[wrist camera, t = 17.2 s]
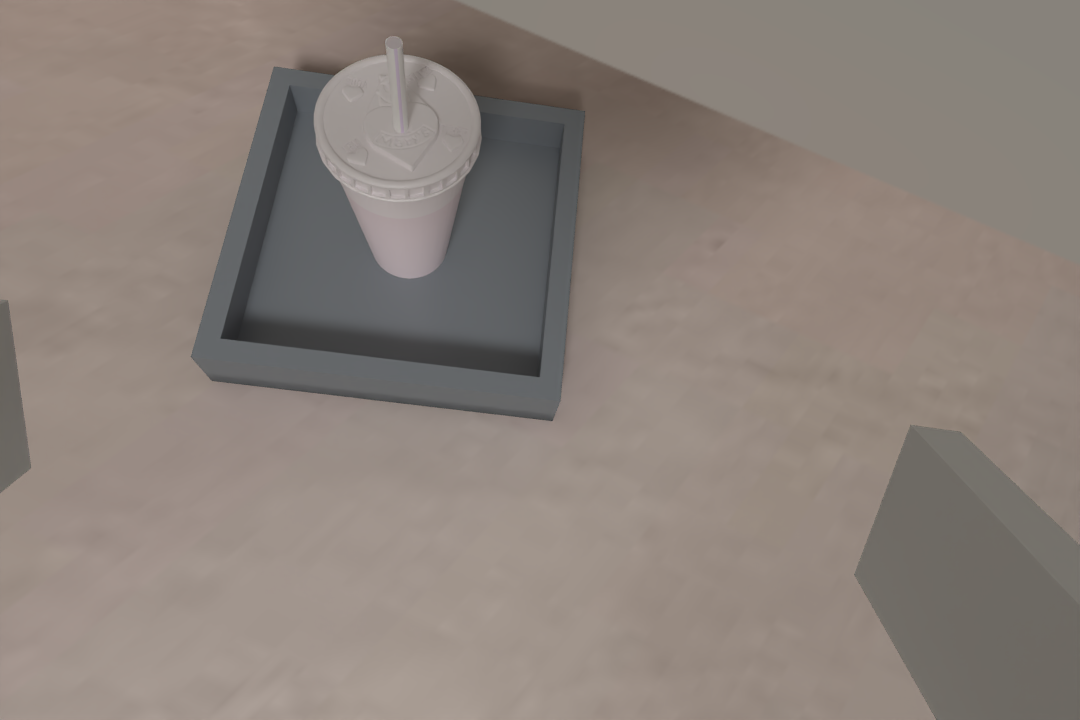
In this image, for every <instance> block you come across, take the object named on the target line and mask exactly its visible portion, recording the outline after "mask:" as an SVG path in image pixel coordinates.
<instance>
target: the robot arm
mask: <svg viewBox="0 0 1080 720" xmlns="http://www.w3.org/2000/svg"><path fill="white" fill-rule="evenodd" d="M30 468H31V463H30V456H29V448H28V441H27V434H26V427H25V419H24V412H23V405H22V398H21V390H20V383H19V376H18V369H17V361H16V354H15V347H14V340H13V332H12V325H11V318H10V311H9V303H8V300H0V493H1V492H2V491H3V490H5V489H6V488H7V487H8V486H10V485H11V484H12V483H13V482H14V481H16V480H17V479H18V478H19V477H21V476H22V475H23V474H24V473H26V472H27V471H28V470H29V469H30ZM854 575H855V577H856V578H857V580H858V582H859V584H860V586H861V587H862V589H863V591H864V593H865V594H866V596H867V598H868V600H869V601H870V603H871V605H872V607H873V609H874V610H875V612H876V614H877V616H878V617H879V619H880V621H881V623H882V624H883V626H884V628H885V630H886V632H887V633H888V635H889V637H890V639H891V640H892V642H893V644H894V646H895V647H896V649H897V651H898V653H899V654H900V656H901V658H902V660H903V662H904V663H905V665H906V667H907V669H908V670H909V672H910V674H911V676H912V677H913V679H914V681H915V683H916V685H917V686H918V688H919V690H920V692H921V693H922V695H923V697H924V699H925V700H926V702H927V704H928V706H929V708H930V709H931V711H932V713H933V715H934V716H935V718H936V720H1080V545H1079V544H1078V543H1077V542H1076V541H1075V540H1074V539H1072V538H1071V537H1070V536H1069V535H1068V534H1067V533H1066V532H1065V531H1064V530H1063V529H1062V528H1061V527H1060V526H1059V525H1058V524H1057V523H1056V522H1055V521H1054V520H1053V519H1051V518H1050V517H1049V516H1048V515H1047V514H1046V513H1045V512H1044V511H1043V510H1042V509H1041V508H1040V507H1039V506H1038V505H1037V504H1036V503H1035V502H1034V501H1033V500H1032V499H1031V498H1029V497H1028V496H1027V495H1026V494H1025V493H1024V492H1023V491H1022V490H1021V489H1020V488H1019V487H1018V486H1017V485H1016V484H1015V483H1014V482H1013V481H1012V480H1011V479H1010V478H1008V477H1007V476H1006V475H1005V474H1004V473H1003V472H1002V471H1001V470H1000V469H999V468H998V467H997V466H996V465H995V464H994V463H993V462H992V461H991V460H990V459H989V458H988V457H986V456H985V455H984V454H983V453H982V452H981V451H980V450H979V449H978V448H977V447H976V446H975V445H974V444H973V443H972V442H971V441H970V440H969V439H968V438H967V437H965V436H964V435H963V434H962V433H961V432H958V431H950V430H943V429H936V428H929V427H921V426H914V425H910V428H909V431H908V433H907V436H906V438H905V441H904V444H903V446H902V449H901V452H900V454H899V457H898V460H897V462H896V465H895V468H894V470H893V473H892V476H891V478H890V481H889V484H888V486H887V489H886V492H885V494H884V497H883V500H882V502H881V505H880V508H879V510H878V513H877V516H876V518H875V521H874V524H873V526H872V529H871V531H870V534H869V537H868V539H867V542H866V545H865V547H864V550H863V553H862V555H861V558H860V561H859V563H858V566H857V569H856V571H855V574H854Z"/></svg>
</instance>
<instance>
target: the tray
mask: <svg viewBox="0 0 1080 720" xmlns="http://www.w3.org/2000/svg"><path fill="white" fill-rule="evenodd" d="M334 76H335V75H329V74H322V73H315V72H308V71H301V70H295V69H288V68H281V67H274V68H273V72H272V75H271V79H270V82H269V86H268V89H267V93H266V96H265V100H264V103H263V107H262V110H261V114H260V117H259V121H258V124H257V128H256V131H255V135H254V138H253V142H252V145H251V149H250V152H249V156H248V159H247V163H246V166H245V170H244V173H243V177H242V180H241V184H240V187H239V191H238V194H237V198H236V201H235V205H234V208H233V212H232V215H231V218H230V222H229V225H228V229H227V232H226V236H225V239H224V243H223V246H222V250H221V253H220V257H219V260H218V264H217V267H216V271H215V274H214V278H213V281H212V285H211V288H210V292H209V295H208V299H207V302H206V306H205V309H204V313H203V316H202V320H201V323H200V327H199V330H198V334H197V337H196V341H195V344H194V348H193V351H192V355H191V358H192V359H193V360H194V361H195V362H196V363H197V364H198V366H199V367H200V368H201V369H202V370H203V371H204V372H205V373H206V375H207V376H208V377H209V378H210V379H211V380H212V381H218V382H227V383H235V384H244V385H252V386H261V387H269V388H278V389H286V390H295V391H303V392H312V393H320V394H329V395H337V396H345V397H354V398H362V399H371V400H379V401H388V402H396V403H405V404H413V405H422V406H430V407H439V408H447V409H455V410H464V411H472V412H481V413H489V414H498V415H506V416H515V417H523V418H532V419H540V420H549V421H553V418H554V416H555V413H556V411H557V408H558V406H559V403H560V399H561V387H562V376H563V364H564V352H565V341H566V329H567V317H568V305H569V294H570V282H571V270H572V258H573V247H574V235H575V223H576V212H577V200H578V188H579V176H580V165H581V153H582V141H583V129H584V118H585V111H580V110H573V109H566V108H559V107H552V106H545V105H538V104H531V103H524V102H517V101H510V100H503V99H496V98H489V97H482V96H475V95H474V97H475V99H476V102H477V104H478V107H479V111H480V117H481V135H482V140H481V145H480V151H479V156H478V157H477V159H476V161H475V163H474V165H473V167H472V168H471V170H470V172H469V173H468V174H467V175H466V177H465V181H464V184H463V188H462V192H461V196H460V200H459V204H458V208H457V212H456V216H455V220H454V224H453V228H452V232H451V236H450V240H449V244H448V248H447V252H446V255H445V258H444V260H443V262H442V263H441V264H440V266H439V267H438V268H437V269H436V270H434V271H433V272H431V273H430V274H428V275H425V276H423V277H419V278H411V279H408V278H400V277H397V276H394V275H392V274H390V273H388V272H386V271H385V270H384V269H383V268H381V267H380V265H379V264H378V263H377V261H376V260H375V258H374V255H373V253H372V251H371V249H370V246H369V244H368V242H367V240H366V238H365V235H364V233H363V231H362V229H361V227H360V224H359V222H358V220H357V218H356V215H355V213H354V211H353V209H352V207H351V204H350V202H349V200H348V198H347V195H346V193H345V191H344V189H343V187H342V185H341V183H340V181H338V180H337V179H336V178H335V177H334V176H333V175H332V173H331V172H330V171H329V170H328V168H327V167H326V166H325V165H324V163H323V161H322V159H321V156H320V154H319V151H318V148H317V146H316V134H315V129H314V110H315V106H316V103H317V100H318V97H319V95H320V93H321V91H322V90H323V88H324V87H325V85H326V84H327V83H328V82H329V81H330V80H331V79H332V78H333V77H334Z"/></svg>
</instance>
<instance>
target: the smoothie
mask: <svg viewBox="0 0 1080 720" xmlns="http://www.w3.org/2000/svg"><path fill="white" fill-rule="evenodd" d="M385 45H386V55H379V56H373V57H369V58H366V59H363V60H360V61H357V62H355V63H353V64H351V65H349V66H347V67H346V68H344V69H343V70H341V71H340V72H338V73H337V74H336V75H335V76H334V77H333V78H332V79H331V80H330V81H329V82H328V83H327V84H326V85H325V87H324V88H323V90H322V91H321V93H320V95H319V97H318V100H317V103H316V106H315V110H314V129H315V134H316V146H317V148H318V151H319V154H320V156H321V159H322V161H323V163H324V165H325V166H326V167H327V168H328V170H329V171H330V172H331V173H332V175H333V176H334V177H335V178H336V179H337V180H338V181H340V183H341V185H342V187H343V189H344V191H345V193H346V195H347V198H348V200H349V202H350V204H351V207H352V209H353V211H354V213H355V215H356V218H357V220H358V222H359V224H360V227H361V229H362V231H363V233H364V235H365V238H366V240H367V242H368V244H369V246H370V249H371V251H372V253H373V255H374V258H375V260H376V261H377V263H378V264H379V265H380V267H381V268H383V269H384V270H385V271H386V272H388V273H390V274H392V275H394V276H397V277H400V278H408V279H411V278H419V277H423V276H425V275H428V274H430V273H431V272H433V271H434V270H436V269H437V268H438V267H439V266H440V264H441V263H442V262H443V260H444V258H445V255H446V252H447V248H448V244H449V240H450V236H451V232H452V228H453V224H454V220H455V216H456V212H457V208H458V204H459V200H460V196H461V192H462V188H463V184H464V181H465V177H466V175H467V174H468V173H469V172H470V170H471V168H472V167H473V165H474V163H475V161H476V159H477V157H478V156H479V151H480V145H481V140H482V135H481V117H480V111H479V107H478V104H477V102H476V99H475V97H474V95H473V94H472V92H471V91H470V89H469V88H468V86H467V85H466V84H465V83H464V82H463V81H462V80H461V79H460V78H459V77H458V76H457V75H456V74H454V73H453V72H452V71H450V70H449V69H447V68H445V67H444V66H442V65H440V64H438V63H436V62H433V61H431V60H428V59H425V58H421V57H417V56H412V55H403V42H402V40H401V39H400V38H399V37H396V36H391V37H389V38H387V39H386V41H385Z"/></svg>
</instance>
